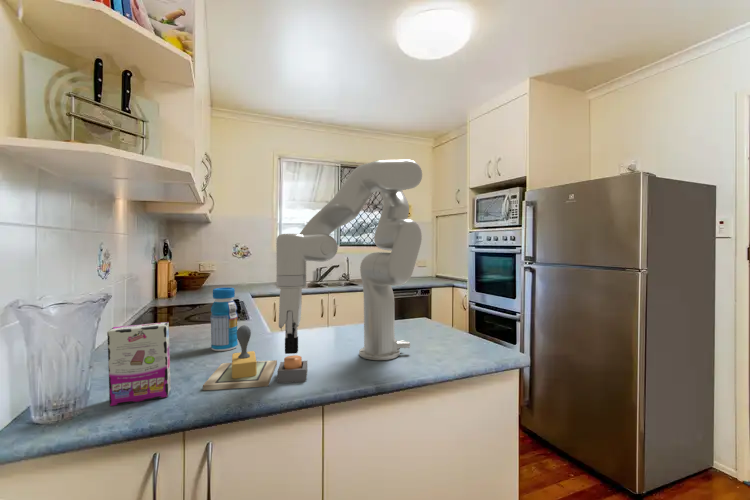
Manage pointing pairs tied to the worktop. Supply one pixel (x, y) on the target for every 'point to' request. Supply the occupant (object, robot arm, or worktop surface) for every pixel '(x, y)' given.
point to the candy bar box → (138, 363)
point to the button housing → (292, 374)
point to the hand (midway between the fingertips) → (291, 352)
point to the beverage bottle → (223, 320)
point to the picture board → (225, 380)
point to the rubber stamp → (244, 356)
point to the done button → (293, 362)
